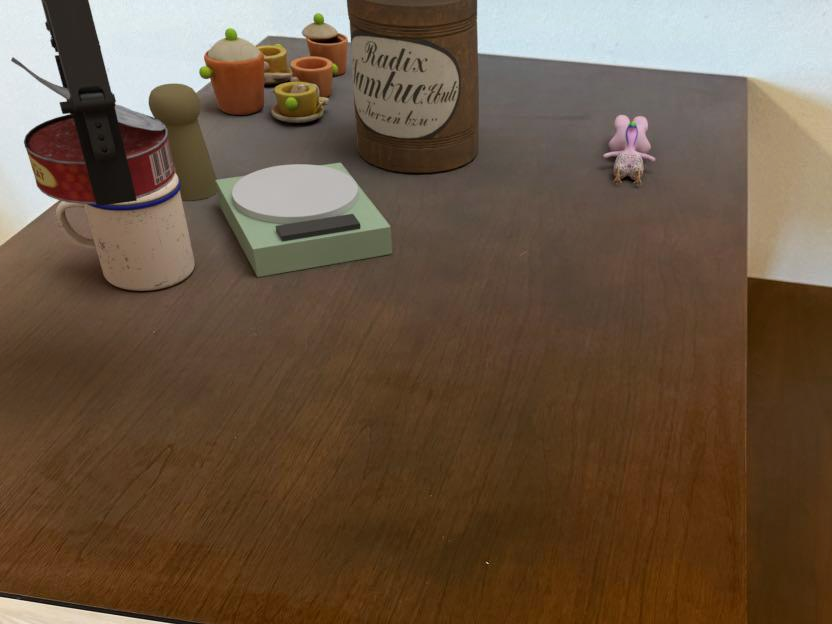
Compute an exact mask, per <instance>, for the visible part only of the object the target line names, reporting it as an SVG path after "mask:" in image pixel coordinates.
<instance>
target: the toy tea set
mask: <svg viewBox="0 0 832 624" xmlns="http://www.w3.org/2000/svg"><path fill="white" fill-rule="evenodd" d="M312 19H313V22H312V23H309V24H308V25H306V26H305V27H304V28H303V29H302V31H301V35H302V36H303V37H304V38H305V40H306V44H307V49H308V52H309V56H303V57H298V58H295V59H293V60H292V61H290V63H289V66H290V67H289V66H288V51H287V49H286V48H284V47H283V45H282V44H280V43H275V44H274V45H268V44H265V45H259V46H256V45H254V44H253V43H252V42H250V41H249V40H246V39H245V38H242V37H238V33H237V30H236V29H234V28H232V27H230V28H227V29H226V30H225V33H224V36H225V37H224V38H221V39H219V40H218V41H216V42H215V43H214V44H213V45H212V46H211V47H210V49H208V50H207V51H206V52H205V53H204V55H203V60H204V64H205V65H204V66H201V67H200V68H199V70H198V72H199V76H200V77H201V78H202V79H204V80H210V83H211V86H212V89H213V93H214V95H215V99H216V103H217V105H218V108H219V109H220V110H221V111H222V112H223V113H226V114H229V115H235V116H244V115H253V114H256V113H258V112H261V110H263V107H264V105H265V85H275V87H274V88H273V93H274V96H275V100H276V102H277V103H276V104H275V105H273V106H272V107H271V109H270V112H271V115H272V117H273V118H274V119H277V120H279V121H281V122H284V123H290V124H303V123H310V122H312V121H315V120H318V119H320V118H321V117H322V116H323V115H324V111H325V110H324V107H323V106H328V105H330V98H328V97H330V96H331V94H332V89H333V88H332V87H333V77H336V76H340V75H342V74H344V73H345V72H346V70H347V61H348V60H347V59H348V44H349V43H348V42H349V38H348V36H347V35H345V34H344V33H340V32H338V30H337V29H336V28H335V27H334V26H333V25H331V24H330V23H327V22H325V17H324V15H323V14H322V13H320V12H318V13H315V14H314V15H313V17H312ZM289 80H290V81H289ZM287 81H289V82H287ZM277 84H278V85H277Z"/></svg>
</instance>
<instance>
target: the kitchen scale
mask: <svg viewBox="0 0 832 624" xmlns="http://www.w3.org/2000/svg"><path fill="white" fill-rule="evenodd" d="M215 181H216V187H217V192H216V193H217V197H218V203H219V207H220V209H221V211H222V213H223V214H224V217H225V218H226V220H227V222H228V224H229V226H230V228H231V230H232V232H233V234H234V236H235V237H236V239H237V241H238V243H239V245H240V247H241V249H242V251H243V253H244V255H245V256H246V258H247V260H248V262H249V264H250V266H251V268H252V270H253V271H254V274H255V276H256V277H257V278H262V277H267V276H273V275H278V274H284V273H290V272H295V271H301V270H306V269H313V268H319V267H325V266H331V265H337V264H341V263H348V262H354V261H359V260H365V259H371V258H376V257H382V256H387V255H392V254H393V245H392V244H393V241H392V226H391V224H389V222H388V221H387V219H385V217H384V216H383V215H382V213H381V212H380V211H379V209H378V208H377V207H376V206H375V204H374V203H373V201H372V200H371V199H370V198H369V197H368V195H367V194H366V193H365V192H364V191H363V189H362V187H360V185H359V184H358V183H357V181H356V180H355V179H354V178H353V176H352V175H351V174H350V173H349V171H348V170H347V168H346V167H345V166H344V165H343V164H342V162H335V163H327V164H320V165H319V164H316V165H315V164H304V163H303V164H302V163H301V164H300V163H298V164H296V163H293V164H292V163H291V164H282V165H274V166H270V167H266V168H265V167H264V168H261V169H258V170H255V171H252V172H251V173H249V174H246V175H239V176H234V177H226V178H219V179H217V180H215Z"/></svg>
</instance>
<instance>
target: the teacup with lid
mask: <svg viewBox="0 0 832 624" xmlns="http://www.w3.org/2000/svg"><path fill="white" fill-rule="evenodd" d="M180 188H181V182H180V179H179V178H178V176H177V174H176V173H175V175H174V177H173V179H172V180H171V181H170V182H169V183H168V184H167V185H166V186H165V187H163V188H162V189H160V190H158V191H156V192H154V193H152V194H149V195H146V196H143V197H140V198H137V201H131V202H124V203H117V204H109V205H102V206H97V204H79V203H70V202H65V201H60V202H59V203H58V205H57V207H56V208H55V220H56V223H57V226H58V228H59V229H60V231H61V232H62V233H63V235H64V236H65V237H66V238H67V239H68V240H69V241H70V242H71V243H72V244H74V245H76V246H78V247H79V248H83V249H87V250H91V251H92V250H95V251H96V253H97V256H98V260H99V265H100V267H101V271H102V274H103V277H104V278H105V280H106V281H107V282H108V283H109V284H111V285H112V286H115V287H117V288H119V289H122V290H127V291H134V292H135V291H136V292H147V291H158V290H162V289H166V288H169V287H172V286H174V285H177V284H179V283H182V281H184V280H186V279H187V278H188V277H189V276H190V275H192V273H193V272H194V269H195V266H196V265H195V264H196V263H195V257H194V252H193V248H192V243H191V238H190V233H189V228H188V223H187V219H186V214H185V209H184V205H183V200H182V199H181V195H180ZM71 208H84V210H85V214H86V218H87V221H88V225H89V229H90V232H91V235H92V238H88V237H85V236H83V235H81V234H79V233H78V232H77V231H76V230H75V229H74V228H73V226H71V224H70V222H69V221H68V219H67V215H66V210H67V209H71Z"/></svg>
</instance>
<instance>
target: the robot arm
mask: <svg viewBox="0 0 832 624" xmlns="http://www.w3.org/2000/svg"><path fill="white" fill-rule="evenodd" d="M40 1H41V5H42V9H43V13H44V17H45V20H46V21H45V23H44V24H45V28H46V31H48V32H49V35H50V39H49V41H50V45H51V47H52V48H53V49H54V52H55V53H58V55H57V54H56V55H54V59H55V62H56V66H57V70H58V74H59V78H60V81H61V85H62V87H64V88H67V89H68V90H69V94H70V98H69V100H67V99H66V98H65V100H66V101H59V106H60V110H61V113H62V115H69V114H72V115H73V119H74V122H75V126H76V130H77V134H78V137H79V141H80V145H81V149H82V152H83V156H84V160H85V164H86V167H87V171H88V175H89V179H90V182H91V186H92V190H93V194H94V197H95V201H96V204H97V206H102V205H109V204H117V203H124V202H131V201H137V199H136V195H135V191H134V186H133V182H132V178H131V174H130V170H129V165H128V161H127V157H126V153H125V148H124V144H123V140H122V136H121V131H120V127H119V123H118V119H117V115H116V110H115V106H116V105H117V104H116V102H117V100H116V97H115V96H116V95H115V93H113V91H112V89H111V85H110V81H109V77H108V73H107V69H106V64H105V61H104V57H103V52H102V48H101V45H100V44H101V43H100V40H99V38H98V37H99V36H98V34H97V28H96V24H95V22H94V16H93V12H92V9H91V5H90V1H89V0H40ZM115 104H116V105H115Z"/></svg>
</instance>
